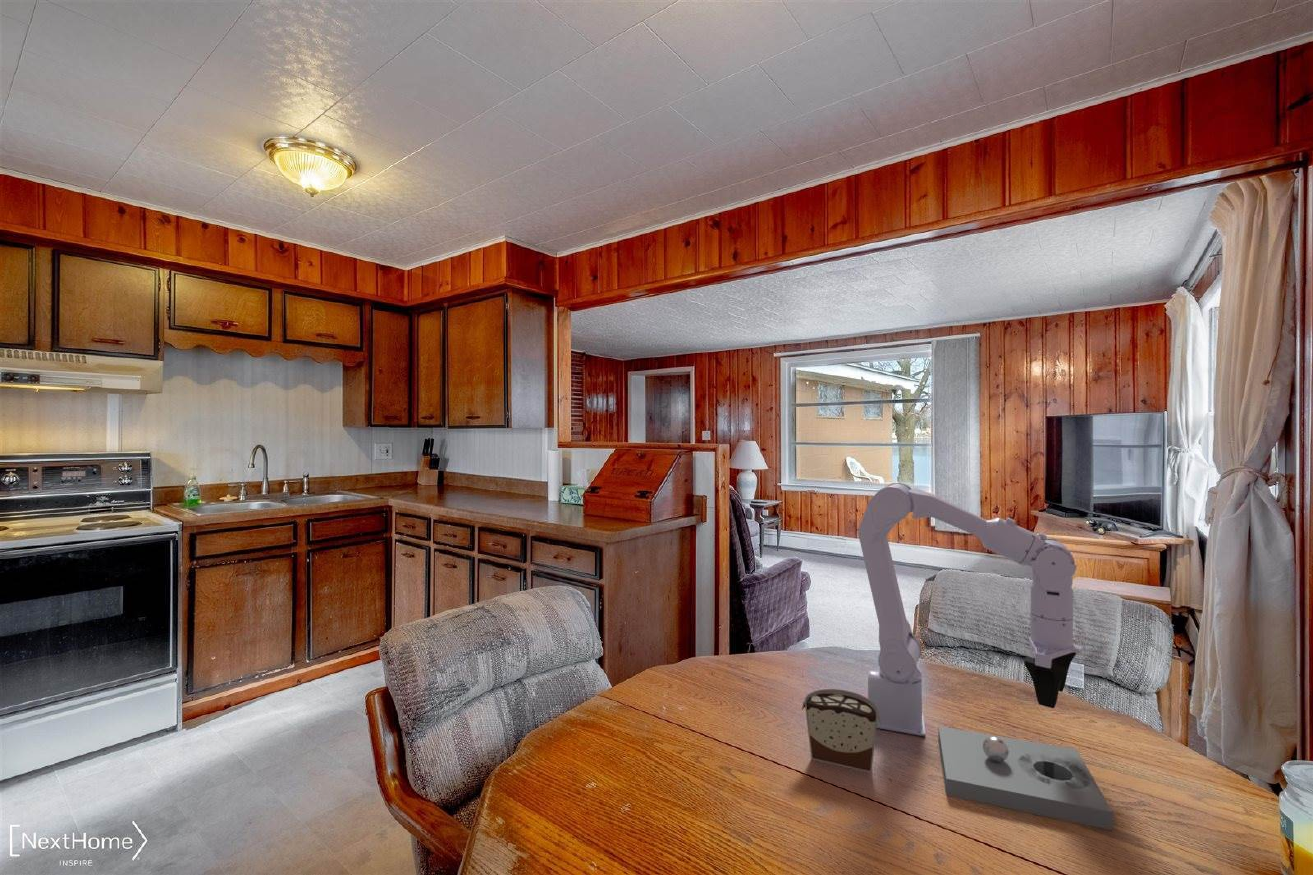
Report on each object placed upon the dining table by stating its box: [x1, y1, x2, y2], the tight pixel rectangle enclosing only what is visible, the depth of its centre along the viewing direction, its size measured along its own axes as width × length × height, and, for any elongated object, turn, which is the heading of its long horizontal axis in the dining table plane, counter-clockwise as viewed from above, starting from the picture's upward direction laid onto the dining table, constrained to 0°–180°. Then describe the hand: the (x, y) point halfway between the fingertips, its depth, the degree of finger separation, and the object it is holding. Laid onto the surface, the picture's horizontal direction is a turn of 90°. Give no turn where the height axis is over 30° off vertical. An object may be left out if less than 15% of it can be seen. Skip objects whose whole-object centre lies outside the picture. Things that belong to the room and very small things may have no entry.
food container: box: [801, 688, 881, 774], centre depth 94 cm, size 12×6×10 cm, turn 65°
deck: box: [937, 725, 1114, 831], centre depth 87 cm, size 20×16×2 cm
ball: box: [983, 735, 1009, 762], centre depth 88 cm, size 4×4×4 cm
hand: (1051, 697), depth 93 cm, fingers open, 7 cm apart
